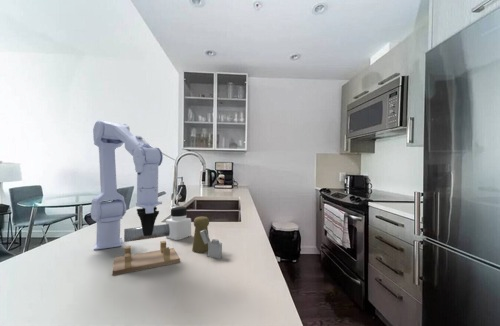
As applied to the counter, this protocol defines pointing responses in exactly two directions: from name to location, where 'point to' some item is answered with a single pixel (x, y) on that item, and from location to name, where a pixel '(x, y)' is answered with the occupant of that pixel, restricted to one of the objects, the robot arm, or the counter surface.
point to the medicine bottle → (179, 223)
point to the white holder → (212, 245)
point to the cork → (198, 242)
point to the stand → (144, 259)
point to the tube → (137, 234)
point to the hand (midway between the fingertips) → (147, 233)
